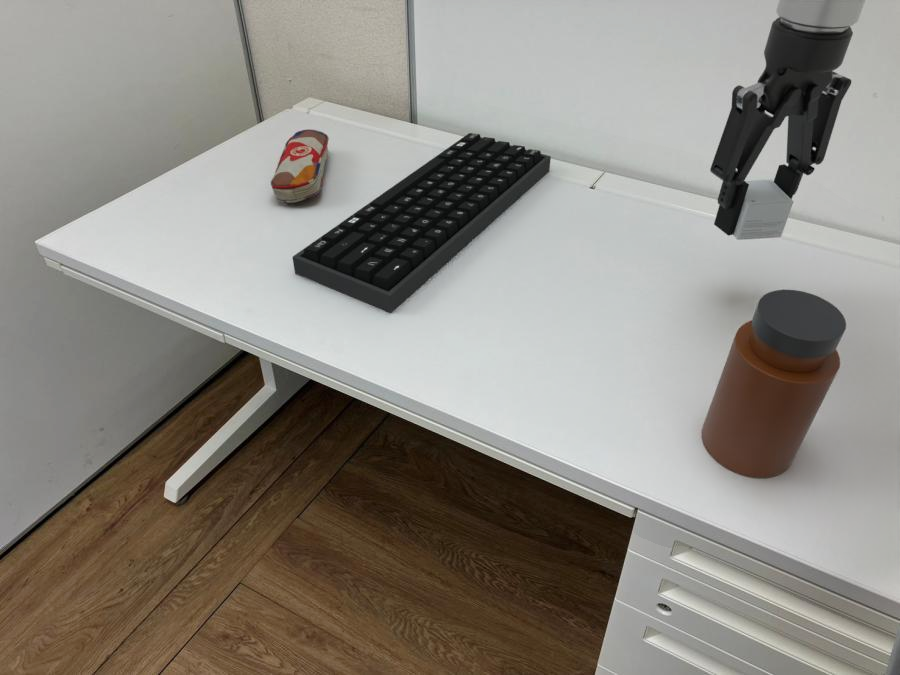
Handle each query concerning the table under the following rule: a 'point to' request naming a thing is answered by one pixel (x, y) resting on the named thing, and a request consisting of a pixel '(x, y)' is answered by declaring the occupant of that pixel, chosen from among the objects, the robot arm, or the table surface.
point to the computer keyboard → (421, 221)
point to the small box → (763, 211)
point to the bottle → (773, 383)
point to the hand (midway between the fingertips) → (748, 223)
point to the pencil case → (301, 166)
